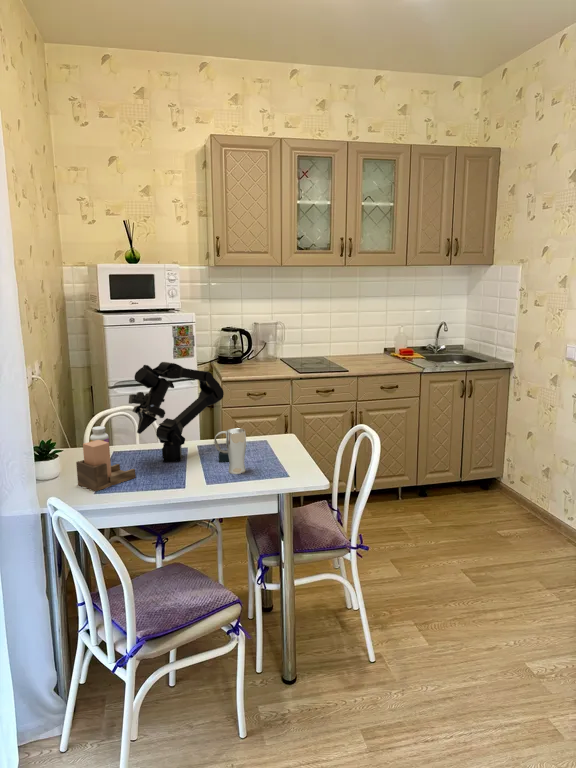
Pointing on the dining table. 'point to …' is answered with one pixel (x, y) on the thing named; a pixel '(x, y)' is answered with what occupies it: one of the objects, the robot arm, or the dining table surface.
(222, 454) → the watch
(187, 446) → the dining table surface
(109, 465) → the terracotta block
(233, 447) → the beer glass
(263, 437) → the dining table surface
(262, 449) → the dining table surface
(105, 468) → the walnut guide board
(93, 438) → the supplement bottle
